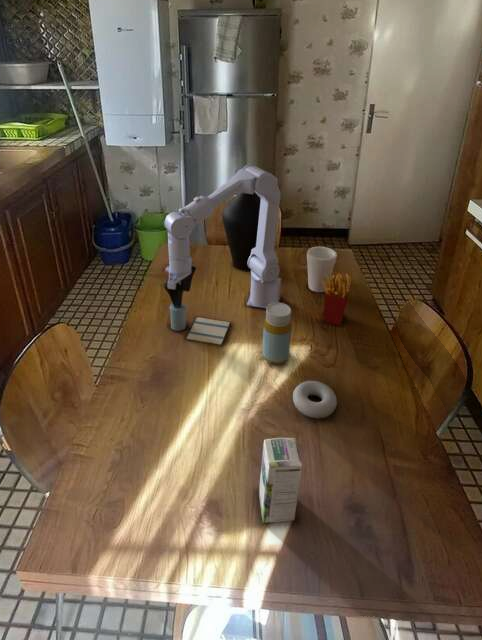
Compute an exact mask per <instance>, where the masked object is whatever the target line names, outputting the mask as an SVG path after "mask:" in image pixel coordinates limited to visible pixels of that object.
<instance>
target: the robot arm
mask: <svg viewBox="0 0 482 640" xmlns="http://www.w3.org/2000/svg"><path fill="white" fill-rule="evenodd" d="M236 171H237V170H236ZM278 181H279V179H278V178H277V177H276V176H275V175H273V173H270V172H268V171H266V170H264V169H262V168H260V167H258V166H256V165H255V164H251V163H250V164H247V165H245V166H243V168H241V169H238V171H237V173H235V174H234V175H233V176H232V177H231V178H230V179H229V180H228V181H226V182H225V183H224V184H222V185H221V186H219V187H218V188H217V189H215V190H214V191H213V192H212V193H210V194H209V195H208V196H204V195H199V196H195V197H194V198H193V201H191V202H189V203H188V204H187V205H185V206H184V207H180V208H179V209H178V210H176V211H171V212H170V213H168V214H167V215H166V216H165V220H164V221H163V226H164V229H166V230H167V249H168V262H169V265H168V266H166V268H165V272H167V273H168V281H165V282H164V284H163V289H164V291H166V292H167V294H168V295H169V299H170V300H171V304H172V303H173V305H174V306H181V303H183V293H184V292H190V290H191V286H192V280H193V278H194V275H195V272H196V271H197V267H196V266H195V265H194V266H193V265H192V264H193V257H191V243H190V242H191V239H190V236H191V235H192V233H193V231H194V228H196V226H198V225H199V224H200V223H202V222H203V221H205V220H207V219H208V218H209V217H211V216H212V215H213V214H214V212H215V209H216V207H218V206H221V204H223V203H225V202H227V201H229V200H230V199H233V198H234V197H235V196H236V195H237V194H238V193H247V194H254V192H255V193H256V194H257V195H258V196H259V197H260V199H261V203H260V212H259V222H258V232H257V242H256V247H255V248H253V249H252V250H251V255H250V257H249V259H248V262H247V264H248V267H249V268H250V269H251V270H250V295H249V297H248V300H247V302H246V306H248V307H254V308H261V309H267V306H268V305H269V304H271V303H280V301H281V296H282V295H281V290H282V278H281V277H279V275H280V271H281V268H280V265H279V257H278V255H277V253H276V251H275V245H276V236H277V229H278V221H279V220H278V219H279V213H280V204H281V190H280V187H279V185H278ZM253 190H254V192H253Z"/></svg>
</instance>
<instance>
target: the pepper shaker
mask: <svg viewBox="0 0 482 640" xmlns="http://www.w3.org/2000/svg"><path fill="white" fill-rule="evenodd" d="M186 308H187V307H186V303H184V302H182V303H181V306H174V305H173V303H172V302H171V303H170V305H169V315H170V319H169V320H170V328H171V330H173V331H177V332H180V331H183V330H185V329H186V328H187V313H186V311H187V309H186Z"/></svg>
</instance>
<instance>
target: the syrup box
mask: <svg viewBox="0 0 482 640" xmlns="http://www.w3.org/2000/svg"><path fill="white" fill-rule="evenodd" d="M300 454H301V453H300V450H299V446H298V443H297V438H296V437H275V438H266V439H264V440H263V446H262V459H261V468H260V477H259V491H258V496H259V504H260V505H259V506H260V512H261V518H262V523H263V524H268V523H269V524H270V523H279V522H290V521H291V522H292V521H295V520H296V519H295V518H296V512H297V504H298V497H299V492H300V491H299V489H300V484H301V476H302V470H303V463H302V460H301V455H300Z"/></svg>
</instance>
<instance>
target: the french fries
mask: <svg viewBox="0 0 482 640" xmlns="http://www.w3.org/2000/svg"><path fill="white" fill-rule="evenodd" d="M326 277H327V279H328V283H329V284H328V286H327V284H326V282H325V280H324V279H323V280H322V281H321V282H322V283H323V285H324V287H325V290H326V291H325V292H324V297H323V298H324V300H323V301H324V302H323V303H324V304H323V323H326V324H327V323H328V324H331V325H335V326H341V325H342V322H343V319H344V314H345V311H346V306H347V303H348V298H349V294H350V291H351V285H352V275H350V273H345V277H346V282H344V280H343V274H341V273H337V274H336V275H334V274H332V275H331V278H330V277H329V276H328V275H327V276H326ZM334 279H335V280H334Z"/></svg>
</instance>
